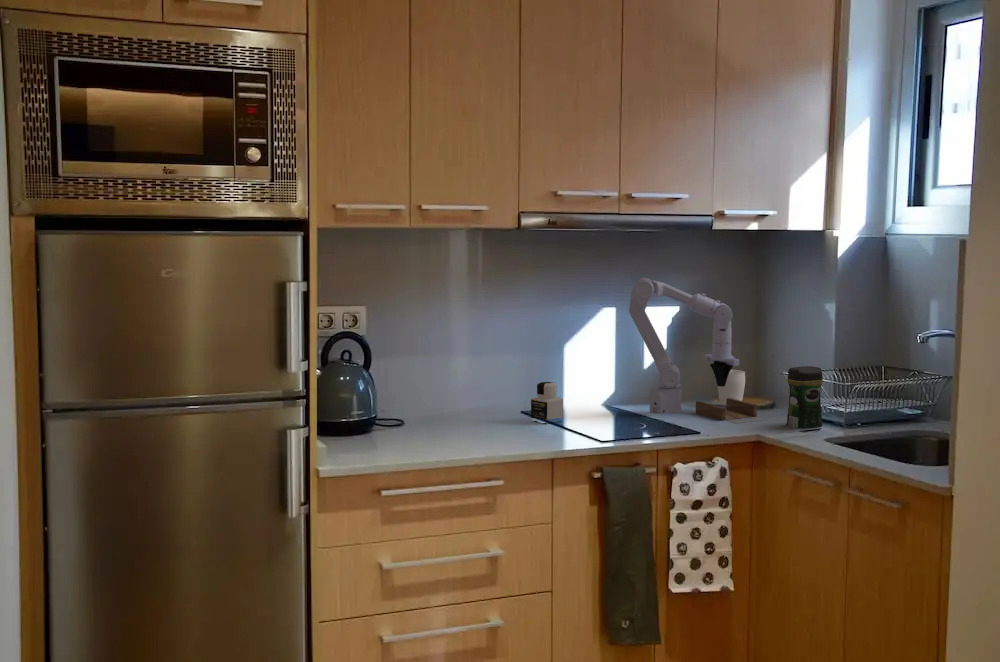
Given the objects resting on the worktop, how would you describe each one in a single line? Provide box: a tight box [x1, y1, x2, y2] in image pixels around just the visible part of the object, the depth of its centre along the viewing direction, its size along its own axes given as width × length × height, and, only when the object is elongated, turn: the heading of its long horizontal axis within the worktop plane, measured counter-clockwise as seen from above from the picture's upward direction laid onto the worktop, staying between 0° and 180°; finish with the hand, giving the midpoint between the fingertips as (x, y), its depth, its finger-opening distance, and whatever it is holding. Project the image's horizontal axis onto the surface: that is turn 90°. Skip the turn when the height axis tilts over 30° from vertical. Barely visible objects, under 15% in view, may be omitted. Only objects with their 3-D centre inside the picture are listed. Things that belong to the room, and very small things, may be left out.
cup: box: [717, 369, 746, 407], centre depth 319 cm, size 9×9×12 cm
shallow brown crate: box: [695, 398, 758, 422], centre depth 301 cm, size 13×13×5 cm
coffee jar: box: [786, 365, 824, 433], centre depth 284 cm, size 10×8×19 cm
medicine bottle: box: [530, 381, 564, 420], centre depth 300 cm, size 7×7×12 cm
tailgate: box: [724, 416, 766, 425], centre depth 293 cm, size 11×1×5 cm
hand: (721, 386), depth 306 cm, fingers closed
